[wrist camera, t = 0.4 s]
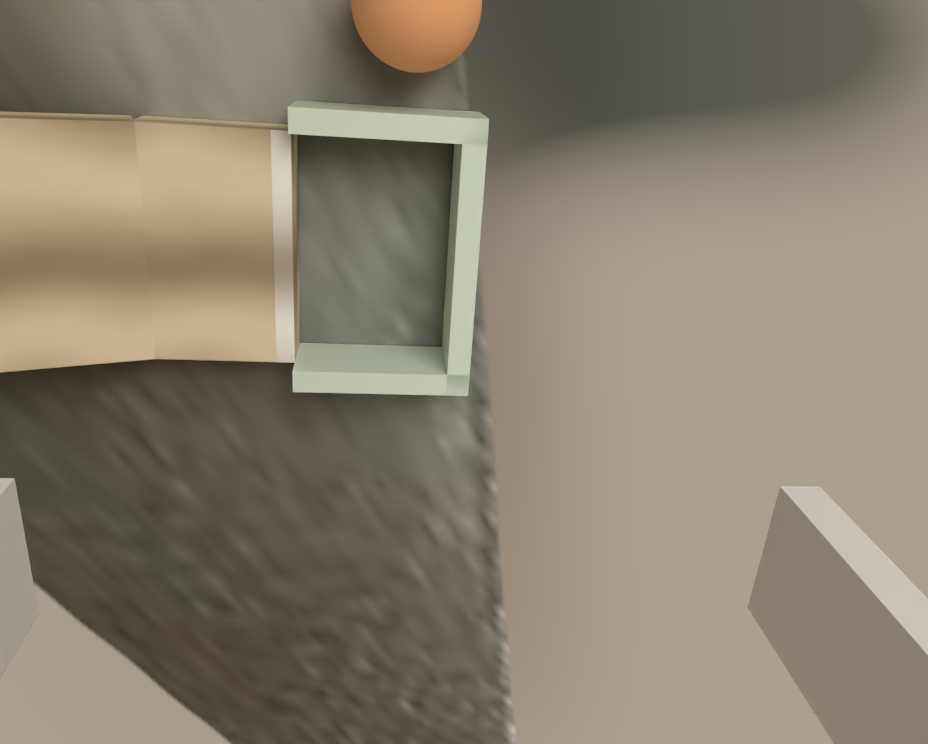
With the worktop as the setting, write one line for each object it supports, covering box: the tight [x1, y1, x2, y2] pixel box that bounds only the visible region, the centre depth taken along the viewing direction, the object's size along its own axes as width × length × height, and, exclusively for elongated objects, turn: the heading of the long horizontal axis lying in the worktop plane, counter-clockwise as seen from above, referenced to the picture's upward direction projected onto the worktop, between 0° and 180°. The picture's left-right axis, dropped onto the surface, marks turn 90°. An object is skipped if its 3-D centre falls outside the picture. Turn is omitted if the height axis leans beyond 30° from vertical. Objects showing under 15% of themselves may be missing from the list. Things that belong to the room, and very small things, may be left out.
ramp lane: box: [0, 111, 300, 372], centre depth 32 cm, size 10×14×5 cm
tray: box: [288, 100, 489, 396], centre depth 34 cm, size 12×8×4 cm, turn 176°
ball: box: [351, 0, 482, 73], centre depth 30 cm, size 5×5×5 cm
